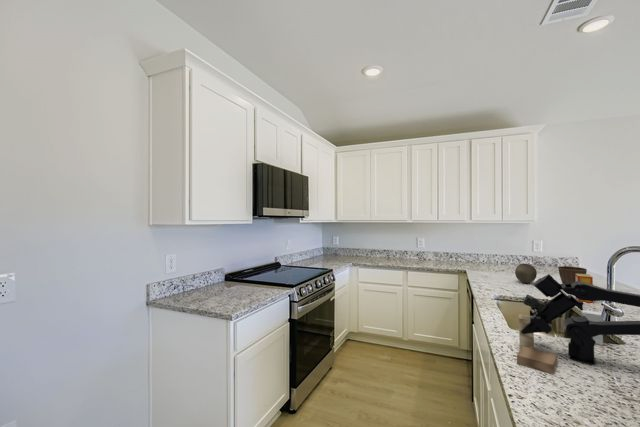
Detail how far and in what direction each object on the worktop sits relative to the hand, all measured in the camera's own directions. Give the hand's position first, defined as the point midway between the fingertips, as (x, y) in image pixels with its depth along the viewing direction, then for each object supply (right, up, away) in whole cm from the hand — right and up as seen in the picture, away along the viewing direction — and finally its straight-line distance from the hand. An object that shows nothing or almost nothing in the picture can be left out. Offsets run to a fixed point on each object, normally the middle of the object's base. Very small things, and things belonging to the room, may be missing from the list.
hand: (521, 330), depth 115 cm
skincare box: (+32, -7, +4) cm, 33 cm away
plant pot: (+93, -8, +85) cm, 127 cm away
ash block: (+1, -7, -1) cm, 7 cm away
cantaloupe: (+80, -8, +111) cm, 137 cm away
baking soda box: (+81, -7, +62) cm, 102 cm away
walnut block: (-4, -7, -13) cm, 15 cm away
